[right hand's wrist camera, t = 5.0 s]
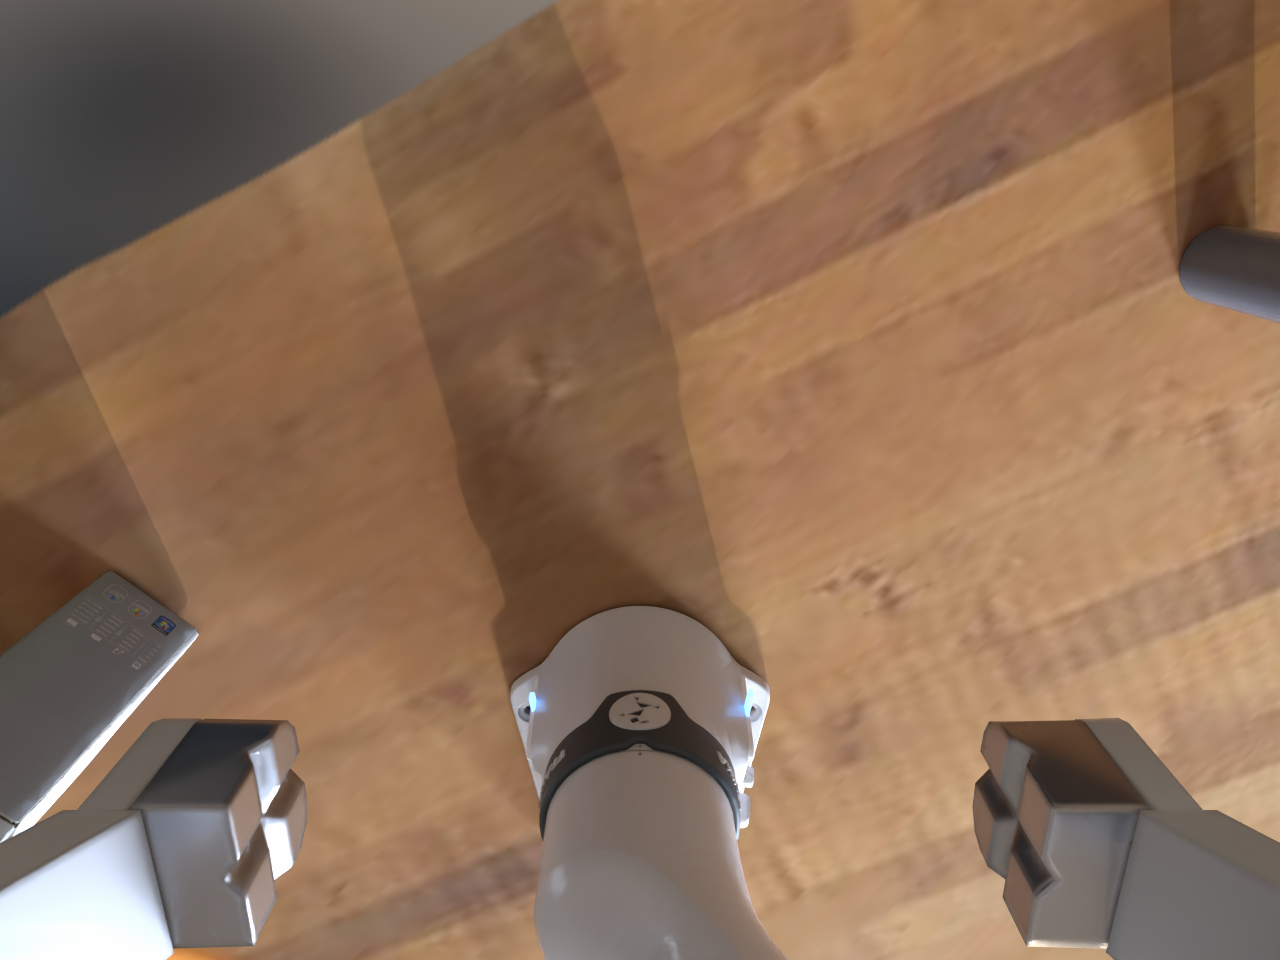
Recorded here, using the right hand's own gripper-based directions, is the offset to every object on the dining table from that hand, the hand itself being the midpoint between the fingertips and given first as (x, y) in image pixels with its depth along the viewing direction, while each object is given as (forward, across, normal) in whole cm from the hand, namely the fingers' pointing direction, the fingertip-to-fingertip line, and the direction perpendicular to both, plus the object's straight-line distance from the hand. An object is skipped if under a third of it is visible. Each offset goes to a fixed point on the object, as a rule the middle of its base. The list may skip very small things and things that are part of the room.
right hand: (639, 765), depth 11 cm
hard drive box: (+48, -39, -29) cm, 68 cm away
